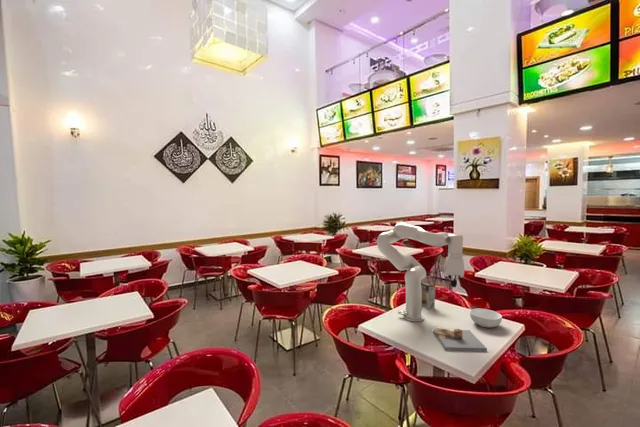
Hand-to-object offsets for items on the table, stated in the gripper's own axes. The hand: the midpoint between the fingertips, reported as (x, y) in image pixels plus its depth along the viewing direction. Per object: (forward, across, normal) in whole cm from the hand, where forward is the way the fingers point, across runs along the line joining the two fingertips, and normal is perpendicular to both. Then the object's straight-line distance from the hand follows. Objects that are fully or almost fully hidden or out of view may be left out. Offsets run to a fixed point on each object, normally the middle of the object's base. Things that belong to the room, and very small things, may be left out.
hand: (453, 286), depth 177 cm
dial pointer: (+22, +6, +15) cm, 28 cm away
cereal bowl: (+24, -21, -4) cm, 32 cm away
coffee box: (+25, +6, -32) cm, 42 cm away
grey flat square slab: (+24, +2, +17) cm, 30 cm away
